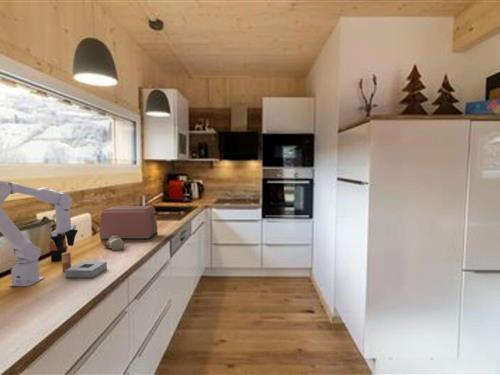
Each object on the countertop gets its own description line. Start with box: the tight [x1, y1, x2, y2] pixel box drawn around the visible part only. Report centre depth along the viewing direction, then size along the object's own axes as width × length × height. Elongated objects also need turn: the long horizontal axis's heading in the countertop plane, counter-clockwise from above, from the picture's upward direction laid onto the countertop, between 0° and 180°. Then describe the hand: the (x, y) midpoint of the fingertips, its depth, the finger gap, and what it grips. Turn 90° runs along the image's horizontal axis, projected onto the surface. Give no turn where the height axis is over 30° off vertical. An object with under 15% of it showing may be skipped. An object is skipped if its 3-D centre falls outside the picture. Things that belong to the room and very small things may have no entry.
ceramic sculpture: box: [103, 234, 125, 251], centre depth 182 cm, size 11×9×15 cm
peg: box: [61, 251, 72, 273], centre depth 145 cm, size 4×4×8 cm
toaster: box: [99, 205, 158, 243], centre depth 204 cm, size 19×34×20 cm, turn 90°
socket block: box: [64, 261, 108, 280], centre depth 140 cm, size 12×12×4 cm
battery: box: [49, 240, 67, 262], centre depth 162 cm, size 4×7×10 cm, turn 0°
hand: (65, 247), depth 145 cm, fingers open, 7 cm apart
